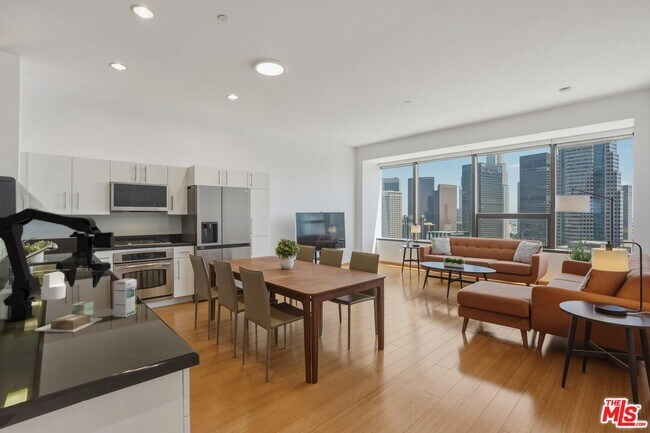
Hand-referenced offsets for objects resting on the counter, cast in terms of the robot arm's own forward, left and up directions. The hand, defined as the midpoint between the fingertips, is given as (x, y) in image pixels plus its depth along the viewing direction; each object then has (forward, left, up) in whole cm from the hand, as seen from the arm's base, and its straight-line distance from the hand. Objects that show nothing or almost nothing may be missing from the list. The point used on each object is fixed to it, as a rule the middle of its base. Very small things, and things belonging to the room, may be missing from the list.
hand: (83, 287), depth 129 cm
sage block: (0, 0, -12) cm, 12 cm away
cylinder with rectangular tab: (-34, +25, -12) cm, 44 cm away
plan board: (+4, -11, -11) cm, 16 cm away
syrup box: (+16, +2, -12) cm, 20 cm away
